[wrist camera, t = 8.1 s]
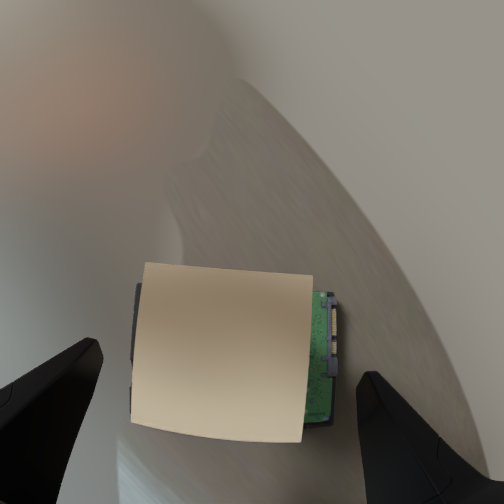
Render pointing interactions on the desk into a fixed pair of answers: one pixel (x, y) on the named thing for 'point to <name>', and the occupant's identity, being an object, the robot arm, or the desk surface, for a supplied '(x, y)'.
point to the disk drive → (320, 359)
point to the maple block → (222, 352)
